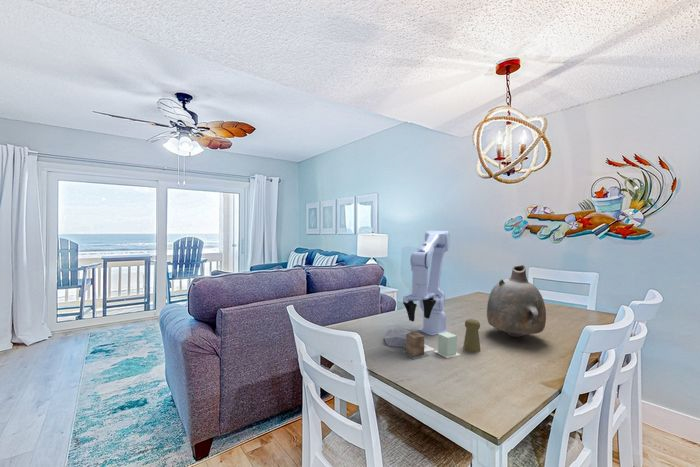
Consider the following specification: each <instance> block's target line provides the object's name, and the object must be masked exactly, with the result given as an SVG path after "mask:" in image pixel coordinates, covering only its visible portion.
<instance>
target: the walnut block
mask: <svg viewBox="0 0 700 467" xmlns="http://www.w3.org/2000/svg"><path fill="white" fill-rule="evenodd" d="M425 338H426V337H425V335H424V334H421V333H419V332H416V331H415V332H410V333H408V334H406V347H405V350H406V352H407V353H408V354H410V355H412V356H413V357H416V356H420V355H424V353H425V352H424V344H425V340H426V339H425Z"/></svg>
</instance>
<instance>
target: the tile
mask: <svg viewBox="0 0 700 467" xmlns="http://www.w3.org/2000/svg"><path fill="white" fill-rule="evenodd" d="M433 352H434V353H436V354H439V355H440V356H442V357H444V358H446V359H449V358H454V357H456V356H461V354H460V353H458V352H457V353H456V354H455V355H451V356H445V355H443V354H441V353H440V352H438V349H437V350H433Z"/></svg>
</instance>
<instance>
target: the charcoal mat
mask: <svg viewBox="0 0 700 467" xmlns="http://www.w3.org/2000/svg"><path fill="white" fill-rule="evenodd" d="M400 353H402V354H403V355H405V356H406V357H409V358H410V359H412V361H414V360H417V359H422V358H425V357H426V358H427V357H429V356H430V355H429V354H428V353H426V352H424V355H420V356H416V357H413V356H412V355H410V354H408V353H407V352H406V349H405V350H401V351H400Z"/></svg>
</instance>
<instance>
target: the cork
mask: <svg viewBox="0 0 700 467" xmlns="http://www.w3.org/2000/svg"><path fill="white" fill-rule="evenodd" d="M464 326H465V335H464V340H463V347H462V348H463V350H465V351H466V352H468V353H479V352H481V342H480V341H481V340H480V334H479V333H480V331H479V330H480V327H481V324H480V321H479V320H477V319H474V318H467V319H466V320H465V321H464Z"/></svg>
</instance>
